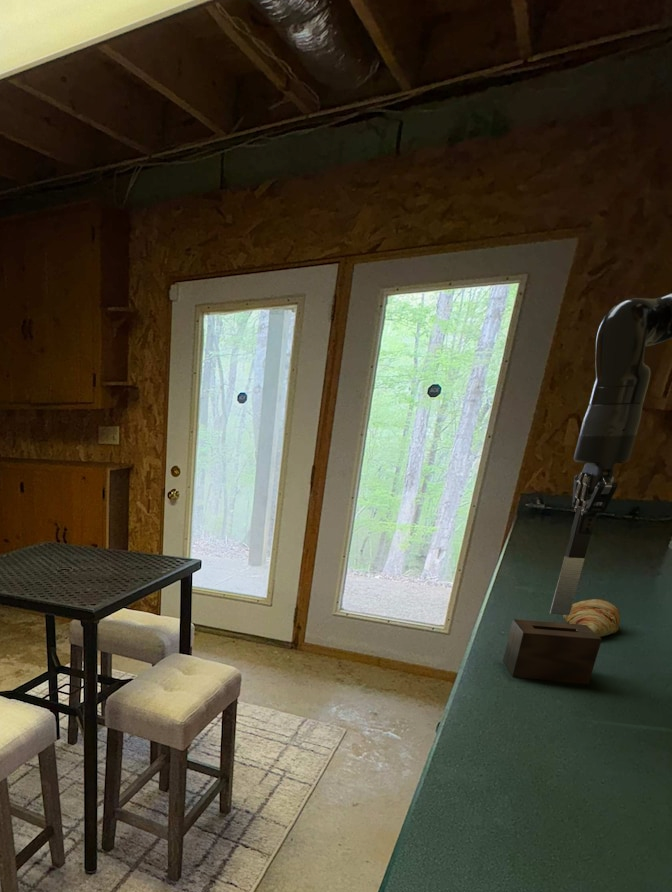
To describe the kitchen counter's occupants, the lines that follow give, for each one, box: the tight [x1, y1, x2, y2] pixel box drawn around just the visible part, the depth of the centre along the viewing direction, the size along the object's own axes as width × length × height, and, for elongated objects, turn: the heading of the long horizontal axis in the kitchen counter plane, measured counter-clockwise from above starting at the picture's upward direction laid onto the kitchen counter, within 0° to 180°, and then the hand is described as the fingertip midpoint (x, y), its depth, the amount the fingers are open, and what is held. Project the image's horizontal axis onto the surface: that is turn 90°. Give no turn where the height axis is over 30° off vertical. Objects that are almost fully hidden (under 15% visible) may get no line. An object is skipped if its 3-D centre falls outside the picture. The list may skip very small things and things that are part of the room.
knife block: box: [502, 618, 603, 685], centre depth 120 cm, size 12×8×9 cm
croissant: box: [562, 598, 621, 638], centre depth 142 cm, size 21×10×8 cm, turn 141°
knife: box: [549, 506, 591, 616], centre depth 114 cm, size 3×2×20 cm, turn 68°
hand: (580, 534), depth 112 cm, fingers closed on knife, 2 cm apart
